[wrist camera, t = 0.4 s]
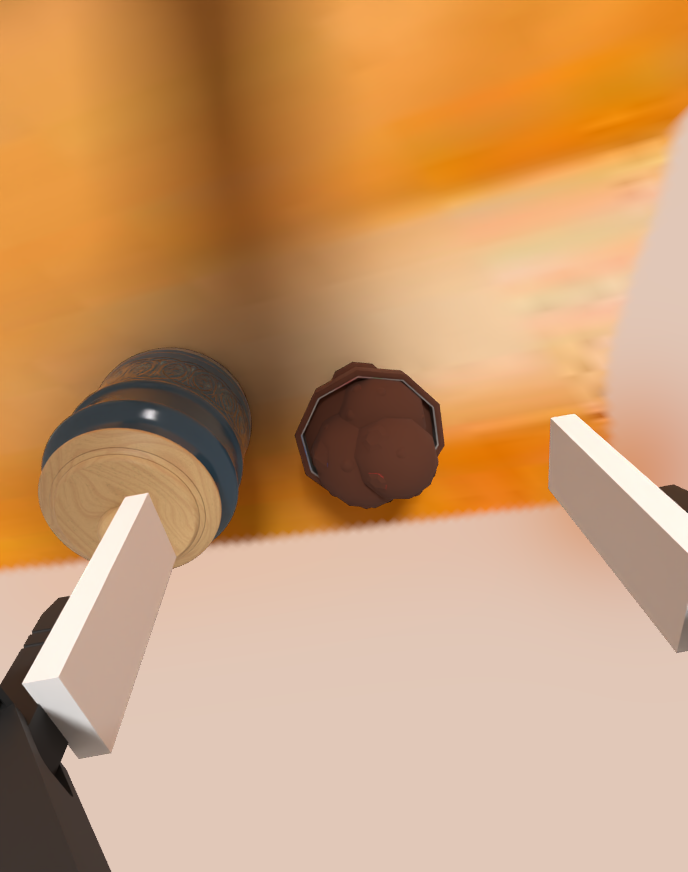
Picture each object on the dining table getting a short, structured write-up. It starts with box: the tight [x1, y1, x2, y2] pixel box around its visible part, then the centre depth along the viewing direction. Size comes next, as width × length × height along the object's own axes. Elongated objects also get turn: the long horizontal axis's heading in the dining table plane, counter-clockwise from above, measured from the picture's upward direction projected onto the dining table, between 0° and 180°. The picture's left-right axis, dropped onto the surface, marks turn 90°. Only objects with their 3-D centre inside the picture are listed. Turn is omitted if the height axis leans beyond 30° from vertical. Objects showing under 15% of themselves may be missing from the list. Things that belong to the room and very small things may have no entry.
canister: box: [38, 348, 252, 569], centre depth 37 cm, size 13×13×18 cm
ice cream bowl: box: [295, 362, 444, 509], centre depth 38 cm, size 11×11×15 cm
